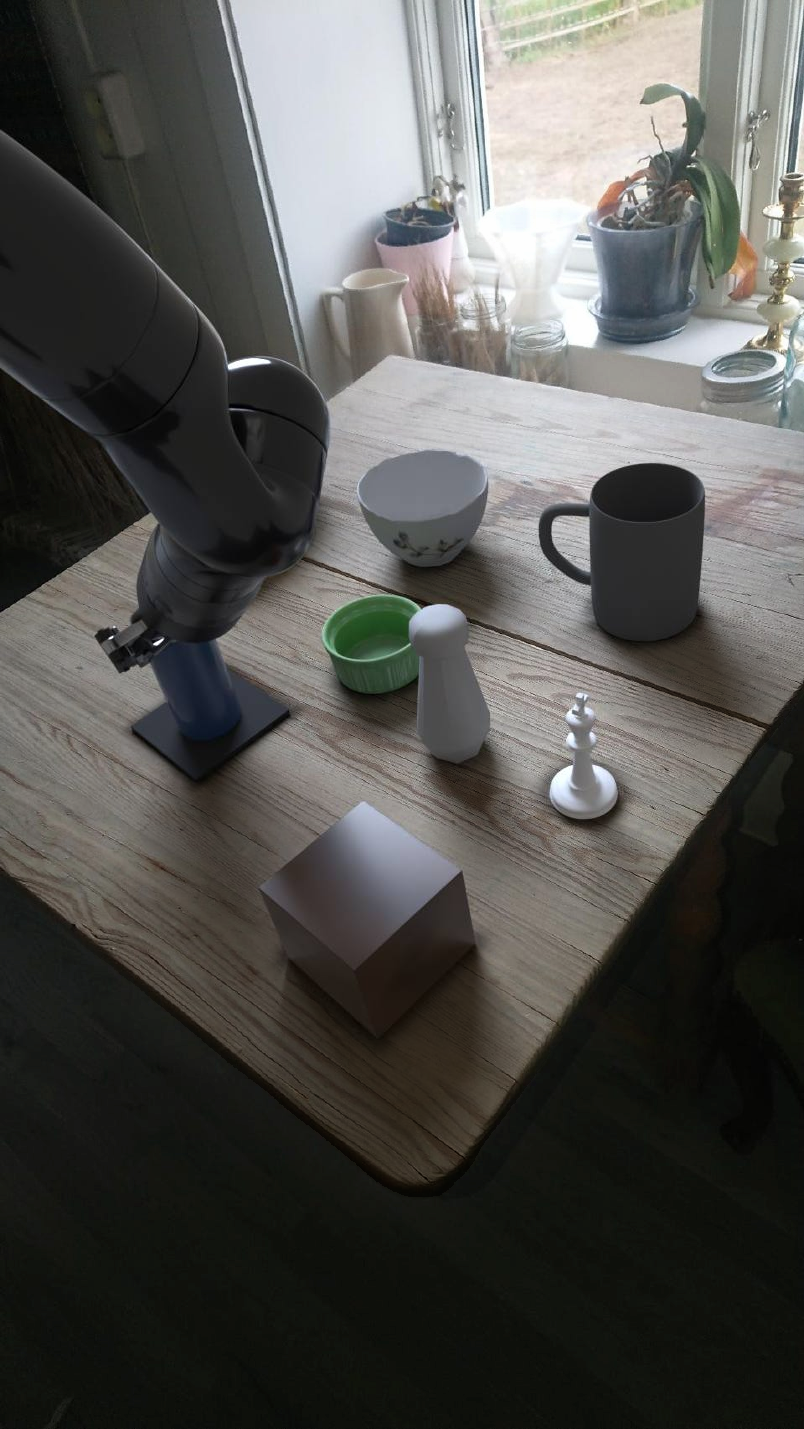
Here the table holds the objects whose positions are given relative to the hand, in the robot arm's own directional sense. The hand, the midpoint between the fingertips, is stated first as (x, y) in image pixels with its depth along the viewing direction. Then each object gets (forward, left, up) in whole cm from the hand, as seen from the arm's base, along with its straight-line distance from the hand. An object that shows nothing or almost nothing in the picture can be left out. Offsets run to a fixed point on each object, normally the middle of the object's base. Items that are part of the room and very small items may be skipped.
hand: (169, 636), depth 79 cm
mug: (+32, -21, -9) cm, 39 cm away
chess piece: (+13, -32, -9) cm, 35 cm away
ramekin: (+14, -9, -9) cm, 19 cm away
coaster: (0, -2, -9) cm, 9 cm away
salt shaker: (+11, -21, -9) cm, 25 cm away
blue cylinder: (0, -2, -8) cm, 8 cm away
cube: (-6, -30, -9) cm, 32 cm away
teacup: (+30, 0, -9) cm, 31 cm away
